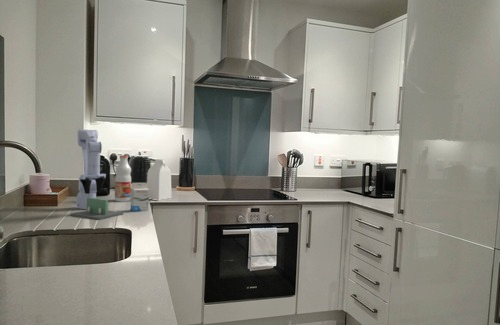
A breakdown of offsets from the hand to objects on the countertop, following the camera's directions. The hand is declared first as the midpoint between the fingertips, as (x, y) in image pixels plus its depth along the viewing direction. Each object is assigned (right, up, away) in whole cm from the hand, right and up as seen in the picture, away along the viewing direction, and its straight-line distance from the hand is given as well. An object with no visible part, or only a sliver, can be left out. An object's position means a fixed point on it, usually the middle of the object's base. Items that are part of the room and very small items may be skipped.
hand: (93, 192), depth 184 cm
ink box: (+19, -11, +14) cm, 26 cm away
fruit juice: (0, -9, +44) cm, 45 cm away
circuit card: (+3, -10, -3) cm, 11 cm away
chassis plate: (+3, -11, -3) cm, 12 cm away
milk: (+19, -9, +56) cm, 60 cm away
